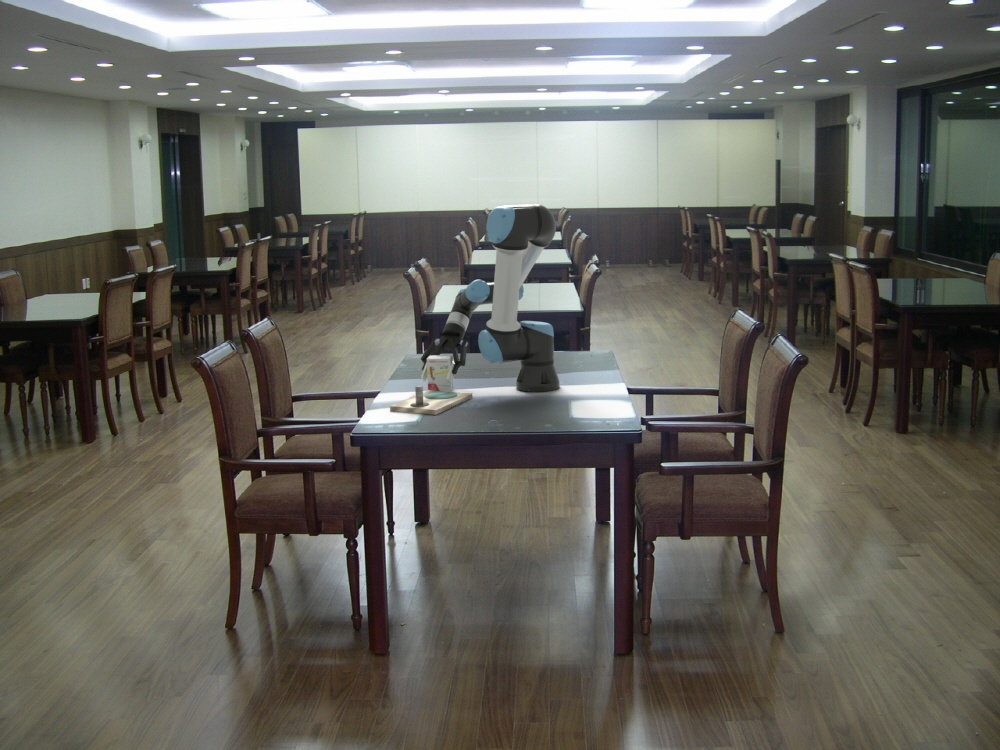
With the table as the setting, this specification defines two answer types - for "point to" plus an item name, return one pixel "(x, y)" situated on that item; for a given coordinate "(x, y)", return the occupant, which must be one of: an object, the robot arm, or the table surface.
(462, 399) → the board
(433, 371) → the ink box
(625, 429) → the table surface
